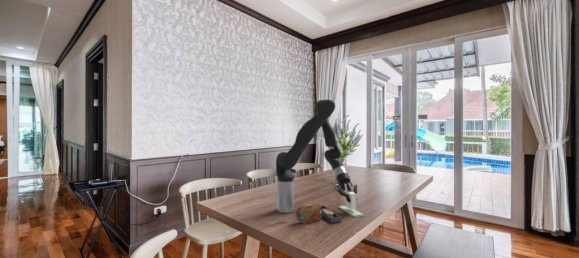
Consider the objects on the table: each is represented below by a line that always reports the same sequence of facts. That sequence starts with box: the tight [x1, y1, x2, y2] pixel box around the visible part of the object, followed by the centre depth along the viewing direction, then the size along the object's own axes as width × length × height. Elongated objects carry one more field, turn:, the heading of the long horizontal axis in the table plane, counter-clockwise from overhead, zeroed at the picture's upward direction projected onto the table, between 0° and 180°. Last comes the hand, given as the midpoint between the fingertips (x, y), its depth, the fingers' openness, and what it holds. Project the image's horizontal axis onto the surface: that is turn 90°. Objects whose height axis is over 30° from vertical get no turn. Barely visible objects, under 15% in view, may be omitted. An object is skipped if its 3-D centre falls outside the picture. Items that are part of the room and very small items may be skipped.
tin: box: [295, 203, 323, 225], centre depth 125 cm, size 15×3×8 cm, turn 118°
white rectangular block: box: [345, 191, 357, 210], centre depth 139 cm, size 3×6×8 cm, turn 18°
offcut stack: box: [323, 208, 335, 217], centre depth 132 cm, size 3×10×3 cm, turn 15°
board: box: [338, 205, 364, 218], centre depth 139 cm, size 6×16×1 cm, turn 18°
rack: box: [321, 204, 342, 224], centre depth 132 cm, size 6×20×2 cm, turn 18°
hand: (352, 201), depth 137 cm, fingers closed on white rectangular block, 3 cm apart
